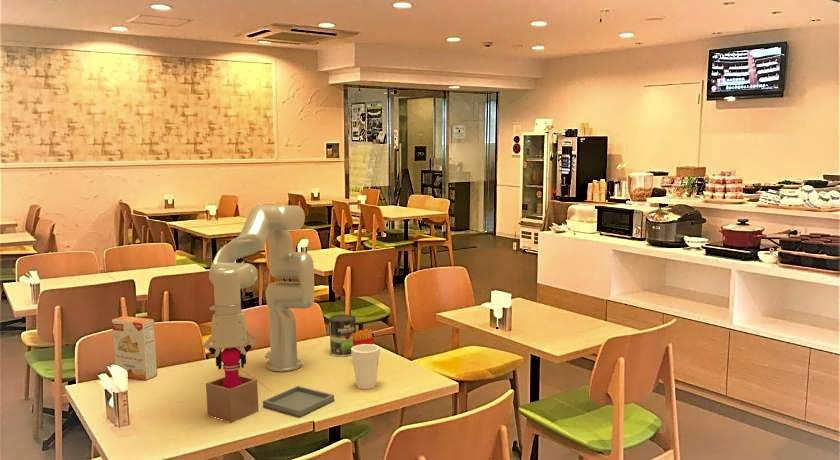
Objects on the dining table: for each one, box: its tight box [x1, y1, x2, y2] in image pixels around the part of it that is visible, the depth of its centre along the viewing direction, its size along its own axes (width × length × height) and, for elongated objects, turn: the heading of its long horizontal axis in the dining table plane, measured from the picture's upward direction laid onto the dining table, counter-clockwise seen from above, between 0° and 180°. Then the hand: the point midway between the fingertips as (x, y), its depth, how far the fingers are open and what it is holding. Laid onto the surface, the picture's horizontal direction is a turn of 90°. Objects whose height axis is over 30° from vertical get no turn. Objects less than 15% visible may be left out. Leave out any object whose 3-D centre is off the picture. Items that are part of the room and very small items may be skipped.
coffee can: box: [328, 314, 357, 358], centre depth 265 cm, size 10×10×14 cm
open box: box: [205, 374, 259, 424], centre depth 206 cm, size 11×11×10 cm
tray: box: [262, 385, 335, 418], centre depth 214 cm, size 16×16×2 cm
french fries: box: [352, 328, 374, 346], centre depth 254 cm, size 8×4×12 cm, turn 128°
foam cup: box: [350, 344, 381, 390], centre depth 228 cm, size 10×9×13 cm
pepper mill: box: [220, 347, 243, 389], centre depth 206 cm, size 7×7×20 cm
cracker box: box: [111, 315, 158, 381], centre depth 240 cm, size 14×6×21 cm, turn 68°
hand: (231, 366), depth 206 cm, fingers closed on pepper mill, 6 cm apart
